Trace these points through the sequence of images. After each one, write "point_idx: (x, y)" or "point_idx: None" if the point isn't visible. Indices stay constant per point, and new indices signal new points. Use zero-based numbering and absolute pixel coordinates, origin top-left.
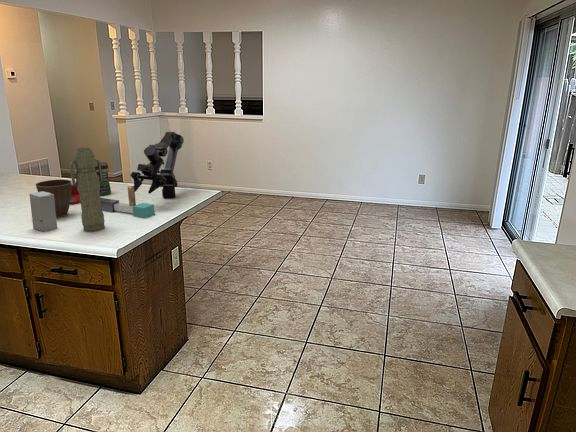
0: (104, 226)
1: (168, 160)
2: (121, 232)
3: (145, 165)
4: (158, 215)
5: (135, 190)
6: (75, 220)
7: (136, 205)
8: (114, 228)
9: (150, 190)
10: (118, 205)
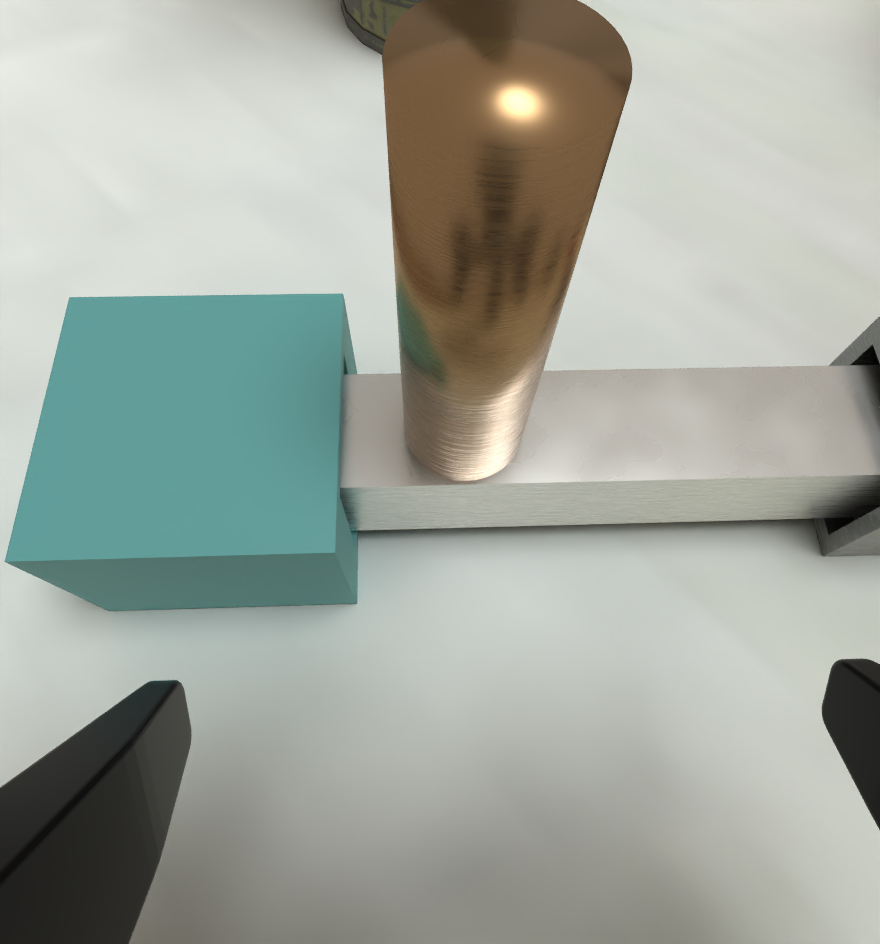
0: (358, 25)
1: None
2: (113, 16)
3: None
4: (15, 588)
5: (857, 742)
6: (821, 77)
7: (315, 362)
8: (256, 57)
9: (69, 762)
10: (735, 375)
